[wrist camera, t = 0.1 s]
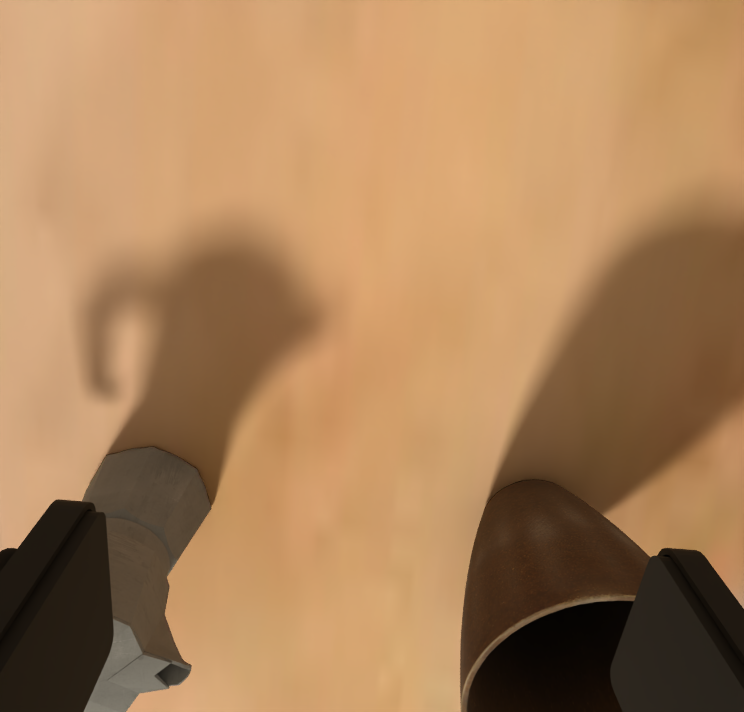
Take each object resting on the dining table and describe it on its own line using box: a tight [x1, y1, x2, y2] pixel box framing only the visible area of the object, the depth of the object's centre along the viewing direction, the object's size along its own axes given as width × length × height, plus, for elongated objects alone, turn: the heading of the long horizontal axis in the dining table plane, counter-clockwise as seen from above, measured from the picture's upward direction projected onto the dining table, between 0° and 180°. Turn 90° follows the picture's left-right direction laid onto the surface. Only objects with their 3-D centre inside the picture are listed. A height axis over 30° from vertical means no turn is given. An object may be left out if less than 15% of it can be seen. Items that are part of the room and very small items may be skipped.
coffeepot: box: [0, 447, 211, 712], centre depth 39 cm, size 15×9×18 cm, turn 79°
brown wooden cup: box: [460, 480, 650, 712], centre depth 41 cm, size 15×15×16 cm
